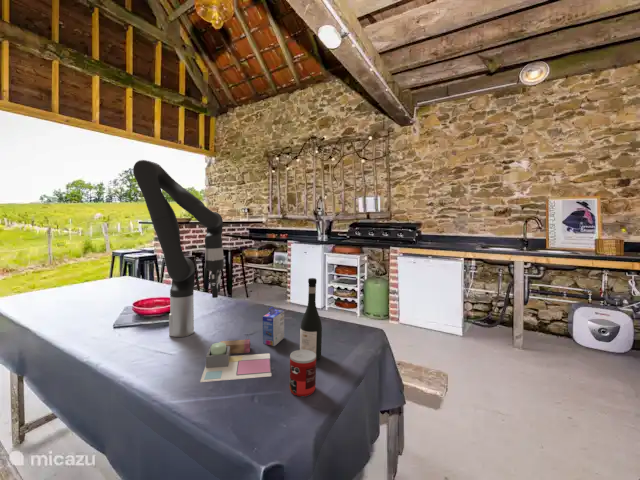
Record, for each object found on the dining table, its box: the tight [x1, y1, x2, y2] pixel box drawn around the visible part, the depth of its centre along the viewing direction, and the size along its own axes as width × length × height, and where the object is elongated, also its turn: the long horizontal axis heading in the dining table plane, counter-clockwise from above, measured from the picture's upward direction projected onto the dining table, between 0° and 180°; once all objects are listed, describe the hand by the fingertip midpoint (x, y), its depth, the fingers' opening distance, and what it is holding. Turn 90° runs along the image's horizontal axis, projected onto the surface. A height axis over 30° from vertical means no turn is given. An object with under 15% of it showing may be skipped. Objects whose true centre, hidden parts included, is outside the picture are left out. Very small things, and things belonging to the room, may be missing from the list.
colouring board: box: [199, 353, 272, 383], centre depth 101 cm, size 22×16×1 cm
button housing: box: [205, 346, 231, 368], centre depth 103 cm, size 7×7×4 cm
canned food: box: [289, 349, 317, 397], centre depth 89 cm, size 8×8×11 cm
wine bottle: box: [299, 277, 323, 361], centre depth 109 cm, size 8×8×30 cm
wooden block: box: [220, 338, 251, 355], centre depth 112 cm, size 11×4×4 cm, turn 102°
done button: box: [210, 341, 226, 355], centre depth 103 cm, size 5×5×4 cm
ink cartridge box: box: [262, 306, 285, 347], centre depth 123 cm, size 10×6×14 cm, turn 161°
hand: (216, 294), depth 128 cm, fingers open, 8 cm apart
